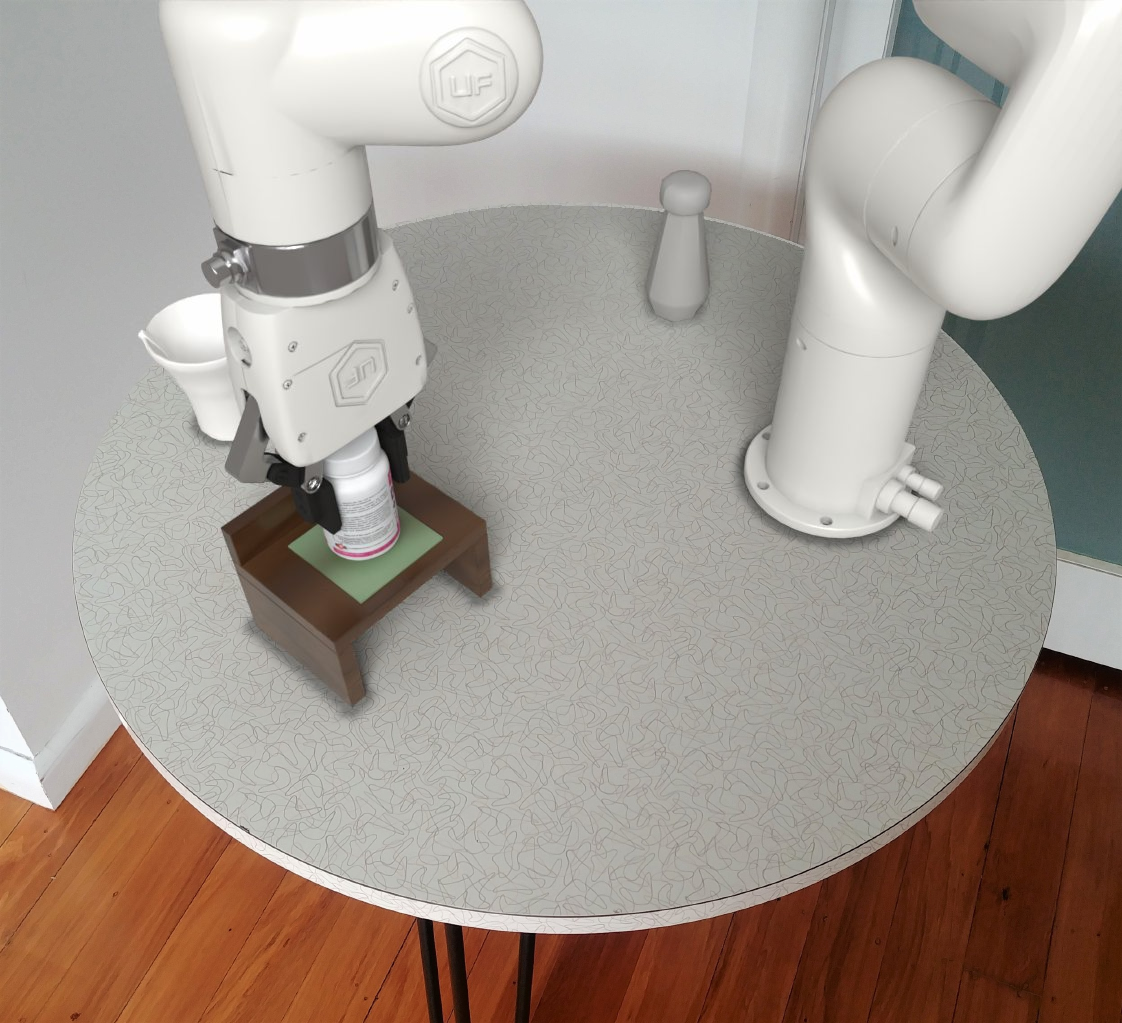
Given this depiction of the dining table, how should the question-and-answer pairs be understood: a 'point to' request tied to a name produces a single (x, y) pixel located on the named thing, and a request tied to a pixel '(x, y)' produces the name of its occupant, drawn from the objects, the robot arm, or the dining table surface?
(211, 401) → the cup
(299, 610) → the shelf
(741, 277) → the dining table surface
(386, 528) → the pill bottle
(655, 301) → the salt shaker
